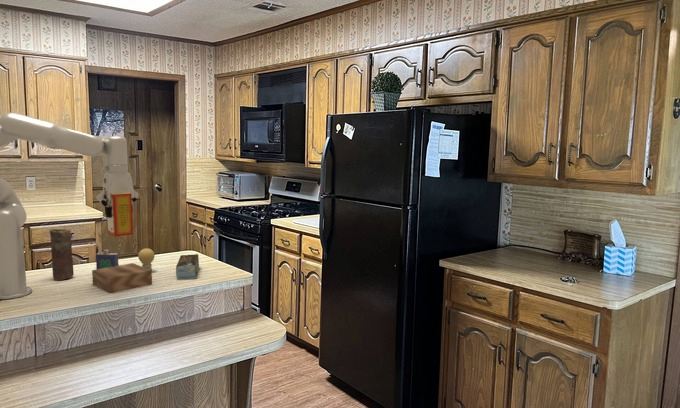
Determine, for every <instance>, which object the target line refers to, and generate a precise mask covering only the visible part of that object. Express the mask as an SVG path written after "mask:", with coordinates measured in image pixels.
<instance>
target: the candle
mask: <svg viewBox="0 0 680 408" xmlns="http://www.w3.org/2000/svg"><path fill="white" fill-rule="evenodd" d="M71 233H72V232H71V230H69V229H66V228H63V229H57V228H51V229H49V235H50V249H51V250H50V251H51V264H52V265H51V268H52V279H53V281H63V280H67V279H70V278H72V277H73V276H74V274H75V273H74V259H73V248H72V236H71Z"/></svg>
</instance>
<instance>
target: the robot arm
mask: <svg viewBox="0 0 680 408" xmlns="http://www.w3.org/2000/svg"><path fill="white" fill-rule="evenodd" d="M17 140H21V141H26V142H31V143H34V144H38V145H42V146H45V147H49V148H55V149H60V150H63V151H67V152H70V153H74V154H79V155H83V156H85V157H97V156H104V157H105V159H104V160H105V165H104V166H102V171H105V173H104V175H103V181H102V191H101V192H99V193H98V194H97V195H96V196H95V198H96V200H97V201H98V202H99V203H100V204H101V205H102V206H103V207H104V215H105V216H106V217H108V218H112V209H111V207H110V205H111V200H112V194H120V193H131V195H132V206H133V205H134V203H136V201H137V199H138V197H139V196H140V194H139V192H137V191H136V190H135V189H134V183H133V182H134V181H133V178H132V175H131V172H129V165H128V164H129V163H128V162H129V161H128V144H127V142H128V141H127V138H126V137H125V136H117V135H116V136H115V135H113V136H109V135H108V136H101V135H100V136H99V135H92V134H88V133H85V132H80V131H77V130H73V129H70V128H67V127H64V126H62V125H59V124H57V123H55V122H51V121H47V120H43V119H39V118H35V117H32V116H30V115H29V116H28V115H24V114H21V113H18V112H12V111H11V112H6V113H3V114H2V115H1V116H0V148H2V147H3V146H6V145H8V144H10V143H13V142H14V141H17ZM104 199H105V200H104ZM27 219H28V218H27V212H26V210H25V208H24V205H23V204H22V202H21V201H20V199H19V197H18V195H17V194H16V191H14V188H13V186H12V185H11V184H10V183H9V182H8V181H7V180H6V179H4V178H0V300H8V299H9V300H10V299H16V298H21V297H25V296H27V295H30V294H31V293H32V292H33V288H32V287H31V286H28V285H27V275H26V263H25V249H24V239H23V233H22V232H23V231H22V227H23V226H24V224H25V223H26V221H27Z"/></svg>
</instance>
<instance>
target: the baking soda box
mask: <svg viewBox="0 0 680 408" xmlns="http://www.w3.org/2000/svg"><path fill="white" fill-rule="evenodd" d="M110 207H111V209H112V218H108V217H106V233H107V234H109V235H111V236H112V237H122V236H132V235H134V221H133V220H134V219H133V205H132V195H131V193H120V194H112V200H111V205H110Z"/></svg>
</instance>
